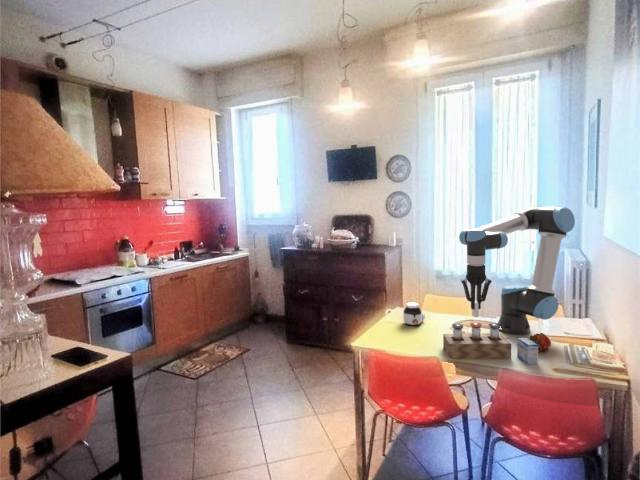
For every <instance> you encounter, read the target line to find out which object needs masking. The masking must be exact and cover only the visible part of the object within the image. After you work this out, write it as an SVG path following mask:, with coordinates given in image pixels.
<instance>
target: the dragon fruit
mask: <svg viewBox="0 0 640 480" xmlns="http://www.w3.org/2000/svg"><path fill="white" fill-rule="evenodd" d="M528 339H529V340H531V341H533V342H534V343H536V344H538V353H540V352H542V351H543V352H548V351H549V347H551V346H552V342H551V341H552V340H550V338H549V337H548V336H547V335H546V334H545V333H542V332H540V333H534V334H533V335H530V336H529V338H528Z"/></svg>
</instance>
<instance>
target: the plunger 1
mask: <svg viewBox="0 0 640 480" xmlns="http://www.w3.org/2000/svg"><path fill="white" fill-rule="evenodd" d="M451 328H452V329H453V332H452V334H453V339H454V341H462V334H463V329H464V324H462V323H459V322H457V323H452V326H451Z"/></svg>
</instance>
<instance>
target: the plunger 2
mask: <svg viewBox="0 0 640 480" xmlns="http://www.w3.org/2000/svg"><path fill="white" fill-rule="evenodd" d="M470 327H471V334H472V341H480V334H481V327H482V323H481V322H478V321H472V322H470Z"/></svg>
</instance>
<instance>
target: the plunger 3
mask: <svg viewBox="0 0 640 480" xmlns="http://www.w3.org/2000/svg"><path fill="white" fill-rule="evenodd" d="M488 328H489V333H490V340H491V341H495V340H499V333H500V330H499V328H500V324H498V322H489V323H488Z"/></svg>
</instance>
